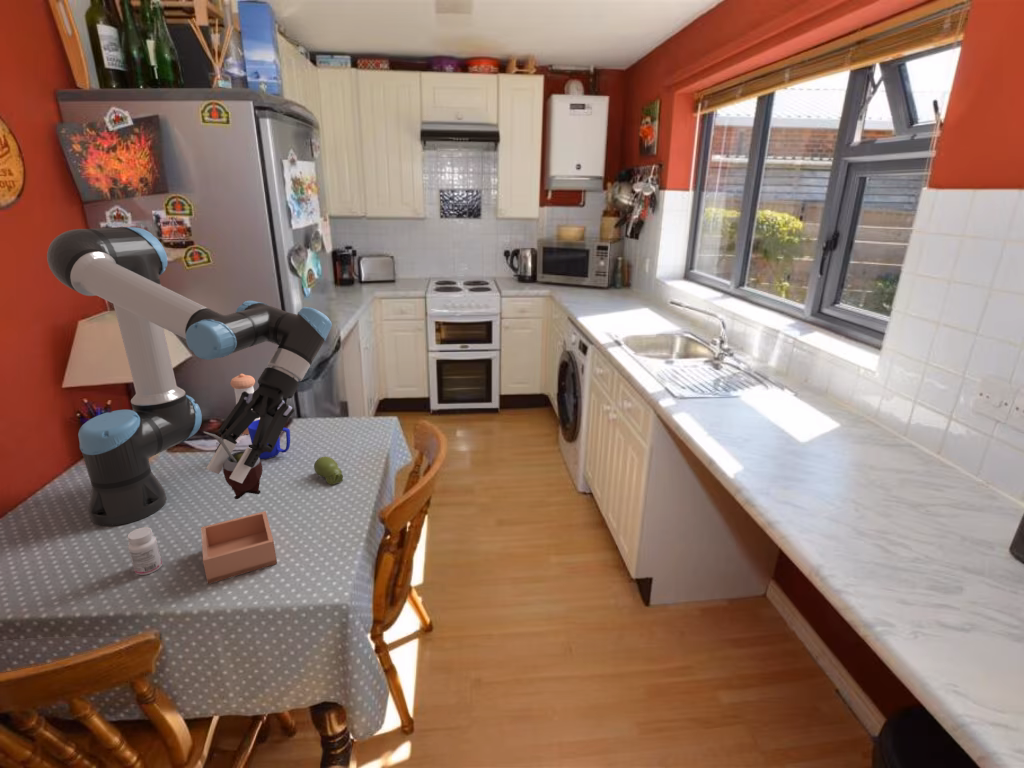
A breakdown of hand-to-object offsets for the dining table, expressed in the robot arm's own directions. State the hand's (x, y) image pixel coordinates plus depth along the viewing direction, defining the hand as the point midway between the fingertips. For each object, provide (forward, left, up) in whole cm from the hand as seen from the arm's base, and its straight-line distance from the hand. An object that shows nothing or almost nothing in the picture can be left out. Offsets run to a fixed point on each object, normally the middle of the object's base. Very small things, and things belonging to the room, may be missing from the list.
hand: (223, 475), depth 103 cm
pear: (+24, +27, -20) cm, 41 cm away
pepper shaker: (+9, +71, -20) cm, 74 cm away
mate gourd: (+3, +2, -6) cm, 7 cm away
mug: (+13, +48, -20) cm, 53 cm away
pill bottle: (-16, +7, -20) cm, 27 cm away
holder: (0, +2, -20) cm, 20 cm away
